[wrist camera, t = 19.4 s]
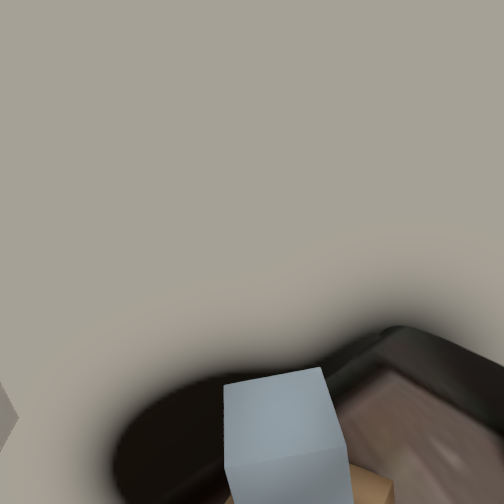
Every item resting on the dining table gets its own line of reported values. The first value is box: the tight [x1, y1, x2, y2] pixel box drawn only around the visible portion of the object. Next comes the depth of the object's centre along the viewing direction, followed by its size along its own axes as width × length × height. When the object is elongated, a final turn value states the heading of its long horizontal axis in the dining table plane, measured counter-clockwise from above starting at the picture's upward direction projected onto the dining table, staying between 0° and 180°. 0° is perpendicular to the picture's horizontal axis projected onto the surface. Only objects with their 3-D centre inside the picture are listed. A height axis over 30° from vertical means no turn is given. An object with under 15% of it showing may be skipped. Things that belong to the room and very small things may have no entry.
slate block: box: [224, 367, 354, 504], centre depth 33 cm, size 8×8×11 cm
